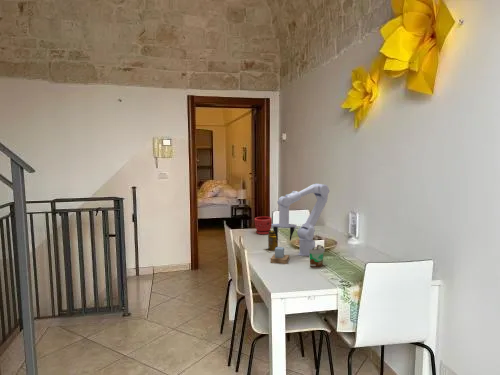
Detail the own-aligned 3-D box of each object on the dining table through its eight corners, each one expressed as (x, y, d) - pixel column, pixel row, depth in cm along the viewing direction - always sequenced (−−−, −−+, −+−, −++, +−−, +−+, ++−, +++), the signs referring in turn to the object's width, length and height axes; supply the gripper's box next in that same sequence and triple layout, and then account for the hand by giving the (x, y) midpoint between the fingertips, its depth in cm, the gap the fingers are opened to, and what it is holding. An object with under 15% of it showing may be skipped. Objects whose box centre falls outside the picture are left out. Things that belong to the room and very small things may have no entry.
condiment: (280, 250, 231) (280, 231, 230) (269, 252, 227) (269, 233, 225) (273, 247, 237) (273, 229, 236) (263, 249, 233) (262, 231, 231)
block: (284, 255, 209) (284, 247, 209) (282, 258, 205) (282, 249, 205) (276, 255, 211) (276, 246, 210) (274, 257, 206) (274, 248, 206)
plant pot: (260, 230, 288) (260, 215, 287) (275, 232, 280) (275, 217, 279) (251, 234, 277) (251, 218, 276) (265, 236, 270) (265, 220, 268)
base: (289, 259, 211) (289, 255, 211) (286, 264, 203) (286, 259, 202) (274, 258, 214) (274, 254, 213) (270, 262, 205) (270, 258, 205)
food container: (319, 269, 192) (319, 251, 191) (308, 267, 195) (309, 249, 194) (328, 263, 203) (328, 245, 202) (317, 261, 206) (317, 244, 205)
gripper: (296, 216, 216) (296, 238, 217) (272, 215, 218) (271, 238, 219) (296, 218, 209) (296, 241, 210) (271, 217, 211) (271, 240, 212)
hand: (283, 240), depth 214 cm, fingers open, 7 cm apart
